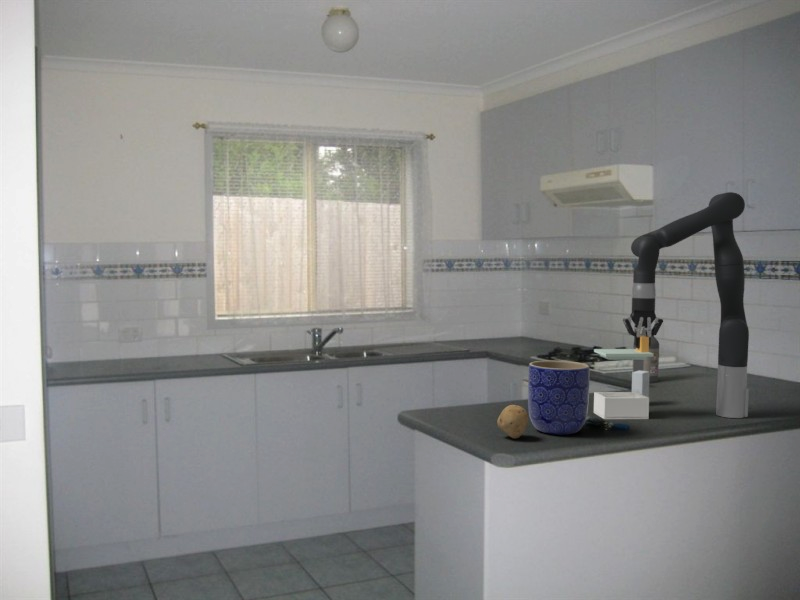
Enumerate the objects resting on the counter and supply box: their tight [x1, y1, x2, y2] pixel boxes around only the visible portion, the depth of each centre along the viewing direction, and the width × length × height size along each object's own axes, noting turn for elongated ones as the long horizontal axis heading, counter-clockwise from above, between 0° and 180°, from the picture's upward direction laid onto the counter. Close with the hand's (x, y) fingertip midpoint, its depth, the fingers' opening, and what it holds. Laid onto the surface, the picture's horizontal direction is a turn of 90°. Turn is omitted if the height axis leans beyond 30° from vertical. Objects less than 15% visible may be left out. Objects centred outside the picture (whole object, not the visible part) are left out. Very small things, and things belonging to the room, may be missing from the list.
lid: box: [593, 336, 653, 361], centre depth 283 cm, size 16×12×7 cm
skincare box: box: [631, 370, 650, 399], centre depth 305 cm, size 6×4×12 cm
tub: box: [593, 391, 650, 420], centre depth 285 cm, size 15×11×7 cm
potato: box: [496, 404, 529, 439], centre depth 250 cm, size 9×9×10 cm
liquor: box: [632, 327, 660, 384], centre depth 357 cm, size 9×9×30 cm
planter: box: [527, 359, 591, 436], centre depth 260 cm, size 18×18×21 cm
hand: (642, 347), depth 284 cm, fingers closed on lid, 2 cm apart
